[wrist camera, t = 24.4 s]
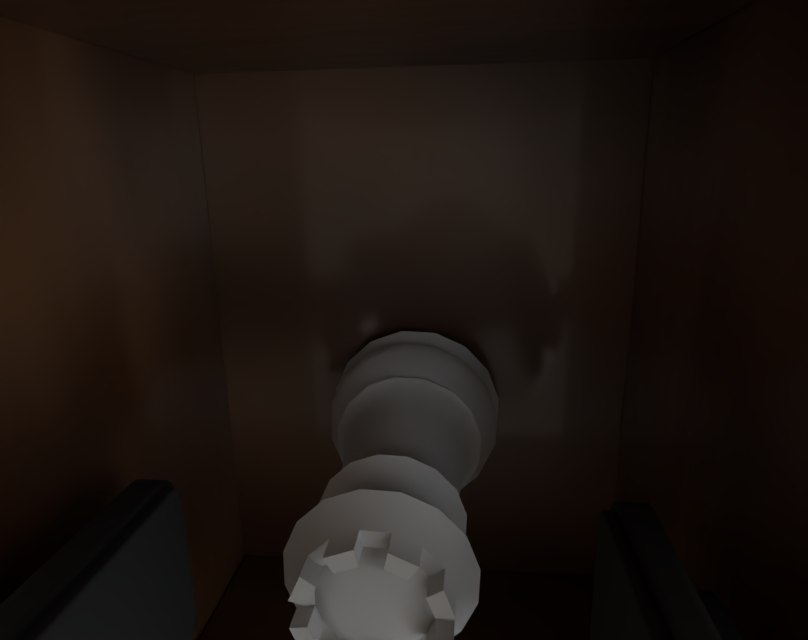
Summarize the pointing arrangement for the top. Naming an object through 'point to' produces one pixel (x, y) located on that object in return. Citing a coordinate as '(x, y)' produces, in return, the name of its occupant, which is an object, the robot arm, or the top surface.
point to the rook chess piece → (396, 497)
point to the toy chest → (411, 278)
